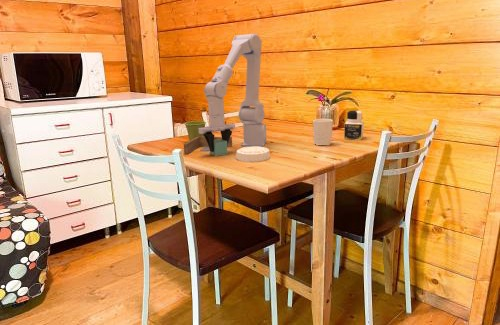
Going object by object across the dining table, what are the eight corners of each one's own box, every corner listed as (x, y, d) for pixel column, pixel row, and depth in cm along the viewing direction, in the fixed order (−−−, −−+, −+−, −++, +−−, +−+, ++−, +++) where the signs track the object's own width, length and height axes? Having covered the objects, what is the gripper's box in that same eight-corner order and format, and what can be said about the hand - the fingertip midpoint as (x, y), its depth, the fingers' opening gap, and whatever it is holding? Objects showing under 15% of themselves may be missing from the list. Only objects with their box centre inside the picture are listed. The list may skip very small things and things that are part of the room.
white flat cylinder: (235, 163, 132) (234, 153, 131) (237, 154, 143) (237, 145, 142) (269, 162, 131) (269, 152, 130) (269, 154, 143) (269, 145, 142)
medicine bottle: (344, 139, 163) (344, 111, 160) (346, 136, 170) (347, 109, 167) (361, 140, 161) (362, 112, 158) (363, 137, 167) (364, 109, 164)
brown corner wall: (232, 146, 157) (231, 136, 156) (222, 155, 142) (221, 144, 141) (197, 145, 160) (197, 136, 159) (184, 154, 146) (183, 144, 145)
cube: (221, 151, 148) (220, 139, 147) (227, 154, 144) (226, 141, 143) (209, 153, 146) (209, 140, 144) (215, 156, 141) (215, 142, 140)
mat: (221, 147, 156) (221, 146, 156) (216, 151, 149) (216, 150, 149) (205, 147, 157) (205, 146, 157) (199, 151, 150) (199, 150, 150)
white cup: (334, 142, 157) (334, 118, 155) (329, 146, 151) (330, 121, 148) (315, 141, 161) (315, 118, 158) (310, 145, 154) (310, 121, 151)
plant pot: (203, 144, 163) (202, 124, 160) (182, 144, 165) (181, 124, 162) (209, 140, 172) (208, 121, 169) (190, 139, 173) (188, 121, 171)
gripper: (203, 117, 134) (206, 154, 137) (238, 113, 141) (240, 149, 145) (195, 115, 140) (197, 151, 143) (229, 112, 147) (230, 146, 151)
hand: (218, 150), depth 144 cm, fingers closed on cube, 5 cm apart
